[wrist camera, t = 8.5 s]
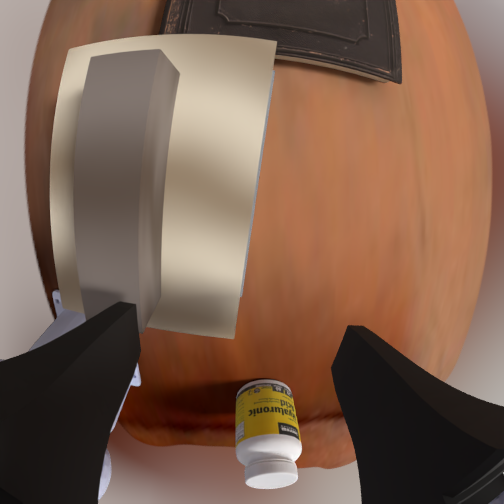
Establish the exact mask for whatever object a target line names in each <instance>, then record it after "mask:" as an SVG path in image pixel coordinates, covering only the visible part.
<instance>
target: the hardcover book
mask: <svg viewBox="0 0 504 504" xmlns="http://www.w3.org/2000/svg"><path fill="white" fill-rule="evenodd" d="M168 34H211V35H228V36H240V37H249V38H257V39H265V40H271V41H277V46H276V52H275V59H282V60H289V61H296V62H302V63H308V64H313V65H318V66H323V67H328V68H333V69H337V70H341V71H345V72H349V73H353V74H357V75H360V76H364V77H367V78H371V79H374V80H377V81H380V82H384V83H387V82H389V81H392V82H395V83H397V84H402V64H401V46H400V33H399V23H398V15H397V8H396V1H395V0H167V2H166V6H165V10H164V14H163V18H162V23H161V28H160V32H159V35H168Z"/></svg>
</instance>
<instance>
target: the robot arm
mask: <svg viewBox="0 0 504 504" xmlns="http://www.w3.org/2000/svg"><path fill="white" fill-rule="evenodd" d="M52 295H53V300H54V305H55V309H56V313H57V318H56V319H55V321H54V322H53V323H52V324H51V325H50V326H49V327H48V328H47V330H46V331H45V332H44V333H43V334H42V335H41V336H40V338H39V339H38V340H37V341H36V342H35V344H34V345H33V346H32V347H31V349H30V350H29V351H28V352H26V353H24V354H21V355H19V356H16V357H13V358H10V359H7V360H2V359H0V504H98V500H99V499H100V498H101V497H102V496H103V494H104V492H105V491H106V489H107V487H108V484H109V481H110V477H111V460H110V455H109V452H108V450H107V444H108V439H109V435H110V433H111V432H112V430H113V429H114V427H115V425H116V422H117V419H118V416H119V414H120V411H121V408H122V405H123V403H124V400H125V398H126V395H127V392H128V390H129V387H130V385H134V386H140V384H141V379H140V374H139V368H138V359H139V356H140V352H141V347H140V339H139V330H138V320H137V308H136V304H133V303H127V302H122V301H119V302H117V303H115V304H113V305H112V306H110V307H108V308H107V309H105V310H103V311H102V312H100V313H99V314H97V315H95V316H94V317H92V318H90V319H89V320H87V321H86V318H85V314H83V313H79V312H75V311H71V310H68V309H64V308H63V307H62V302H61V297H60V292H59V290H55V291H53V293H52ZM58 300H59V301H58ZM331 370H332V376H333V382H334V386H335V391H336V394H337V397H338V400H339V403H340V406H341V409H342V412H343V415H344V418H345V420H346V423H347V426H348V429H349V432H350V435H351V438H352V441H353V445H354V449H355V453H356V459H357V464H358V470H359V478H360V485H361V497H362V504H504V474H503V472H504V407H503V406H499V405H496V404H493V403H489V402H486V401H484V400H480V399H478V398H476V397H473V396H471V395H468V394H466V393H464V392H462V391H460V390H457V389H456V388H454V387H451V386H450V385H448V384H446V383H445V382H443V381H441V380H439V379H438V378H436V377H434V376H433V375H431V374H430V373H428V372H427V371H425V370H424V369H422V368H421V367H419V366H418V365H416V364H415V363H413V362H412V361H411V360H409V359H408V358H407V357H405V356H404V355H403V354H401V353H400V352H399V351H397V350H396V349H395V348H393V347H392V346H391V345H389V344H388V343H387V342H385V341H384V340H383V339H381V338H380V337H379V336H377V335H376V334H375V333H373V332H372V331H370V330H369V329H367V328H366V327H364V326H353V325H348V326H347V329H346V332H345V334H344V337H343V340H342V342H341V345H340V347H339V350H338V352H337V355H336V357H335V360H334V362H333V364H332V367H331Z"/></svg>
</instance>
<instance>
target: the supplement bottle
mask: <svg viewBox="0 0 504 504" xmlns="http://www.w3.org/2000/svg"><path fill="white" fill-rule="evenodd" d="M301 451H302V445H301V439H300V434H299V428H298V423H297V418H296V412H295V407H294V402H293V396H292V393H291V390H290V389H289V387H288V386H287V385H285V384H284V383H282V382H279V381H276V380H269V379H264V380H256V381H253V382H250V383H248V384H246V385H244V386H243V387H242V388H241V389H240V390H239V392H238V393H237V397H236V456H237V459H238V460H239V461H240V462H241V463H242V464H243V465H245V466H246V467H245V483H246V484H247V485H248V486H250V487H253V488H259V489H274V488H281V487H285V486H288V485H291V484H293V483H294V482H296V481H297V479H298V474H297V467H296V464H295V462H294V461H295V460H297V458H298V457H299V456H300V454H301Z"/></svg>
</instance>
